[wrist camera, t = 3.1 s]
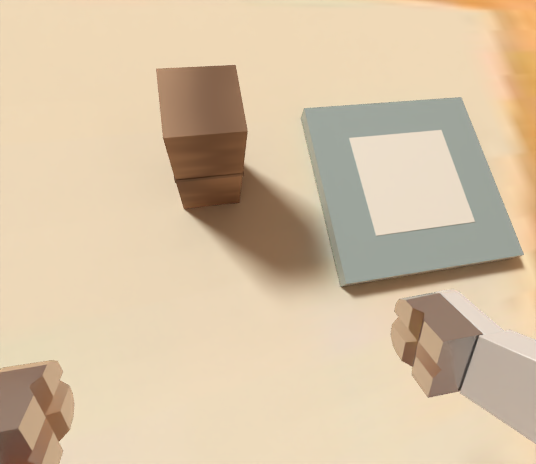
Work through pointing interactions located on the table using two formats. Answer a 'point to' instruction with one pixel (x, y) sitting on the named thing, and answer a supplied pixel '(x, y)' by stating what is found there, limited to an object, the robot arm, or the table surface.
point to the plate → (405, 189)
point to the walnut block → (204, 132)
